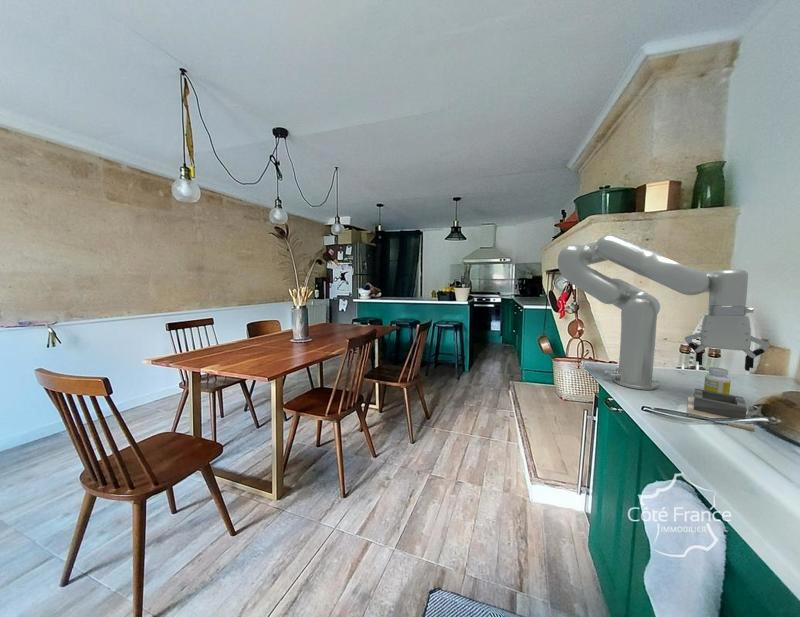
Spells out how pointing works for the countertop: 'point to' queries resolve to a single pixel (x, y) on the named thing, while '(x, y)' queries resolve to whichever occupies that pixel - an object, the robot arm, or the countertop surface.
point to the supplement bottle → (717, 381)
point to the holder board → (718, 407)
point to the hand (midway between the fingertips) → (722, 367)
